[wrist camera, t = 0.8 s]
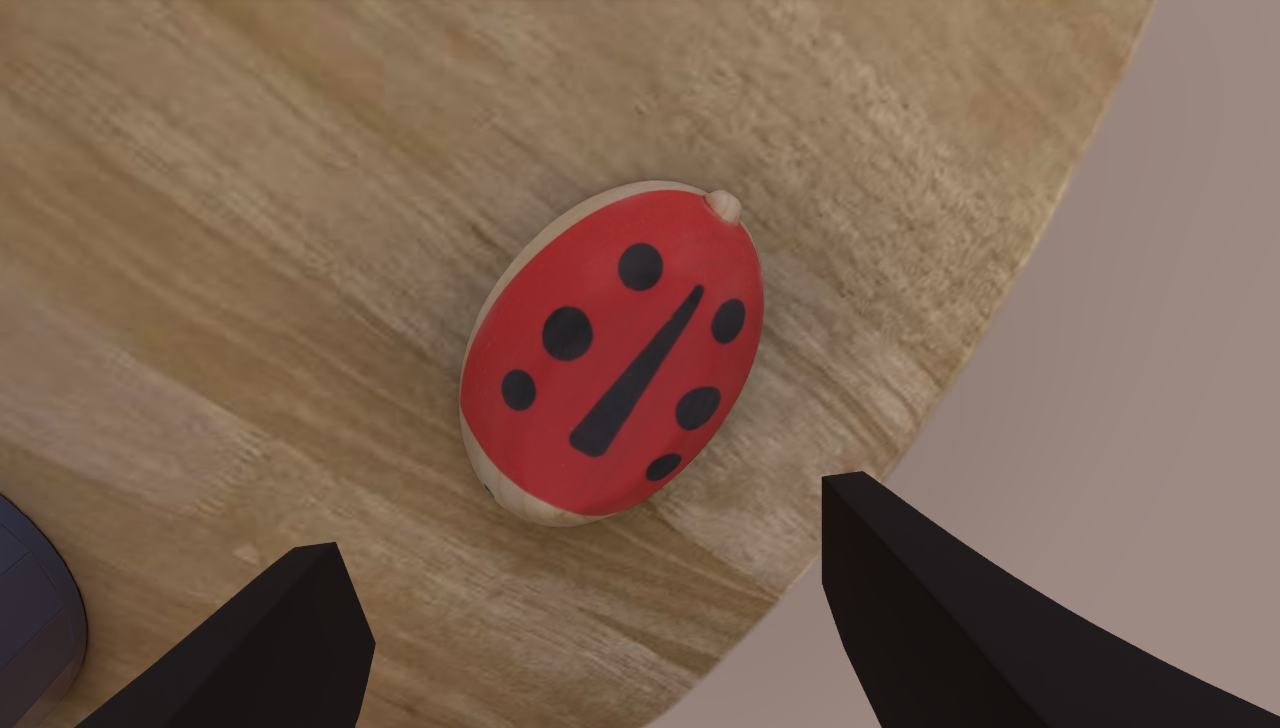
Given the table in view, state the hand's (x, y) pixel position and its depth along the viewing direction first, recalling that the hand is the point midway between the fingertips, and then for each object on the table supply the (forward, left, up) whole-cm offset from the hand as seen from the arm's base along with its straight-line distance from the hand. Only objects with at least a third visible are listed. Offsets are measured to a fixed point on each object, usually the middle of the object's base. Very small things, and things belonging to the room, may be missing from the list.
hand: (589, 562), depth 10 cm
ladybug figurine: (0, 0, -8) cm, 9 cm away
